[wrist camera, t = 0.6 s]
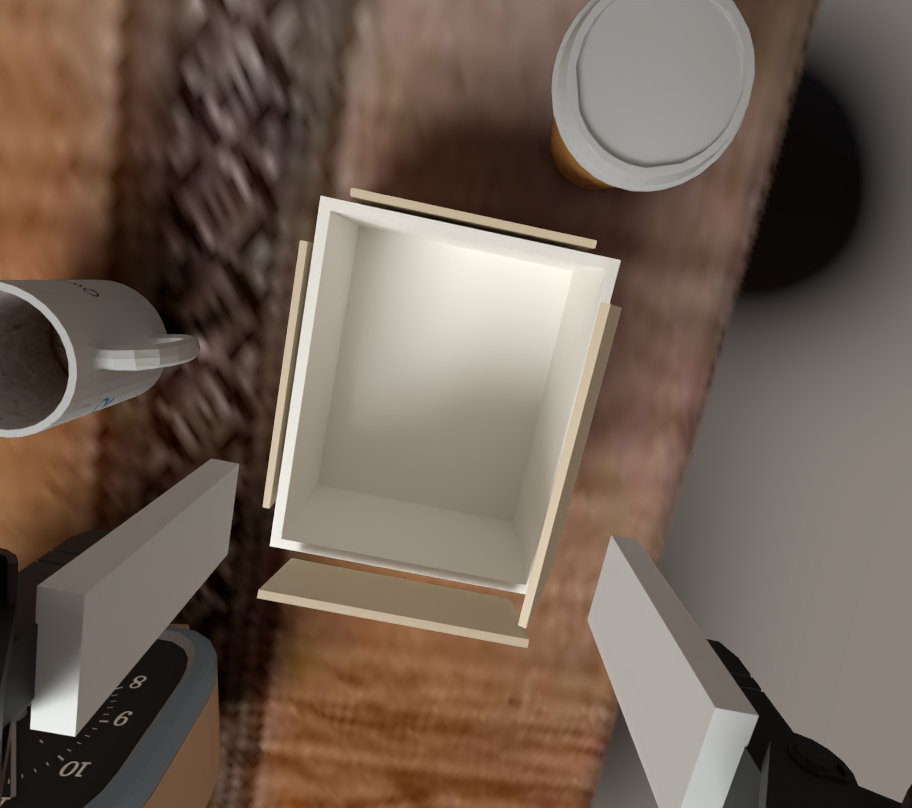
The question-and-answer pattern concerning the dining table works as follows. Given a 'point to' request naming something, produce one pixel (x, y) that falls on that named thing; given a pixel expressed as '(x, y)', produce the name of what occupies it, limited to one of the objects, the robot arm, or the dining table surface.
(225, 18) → the dining table surface
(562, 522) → the long flap
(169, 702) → the alarm clock
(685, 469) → the dining table surface
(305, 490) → the carton
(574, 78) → the disposable coffee cup
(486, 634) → the short flap
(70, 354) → the mug
